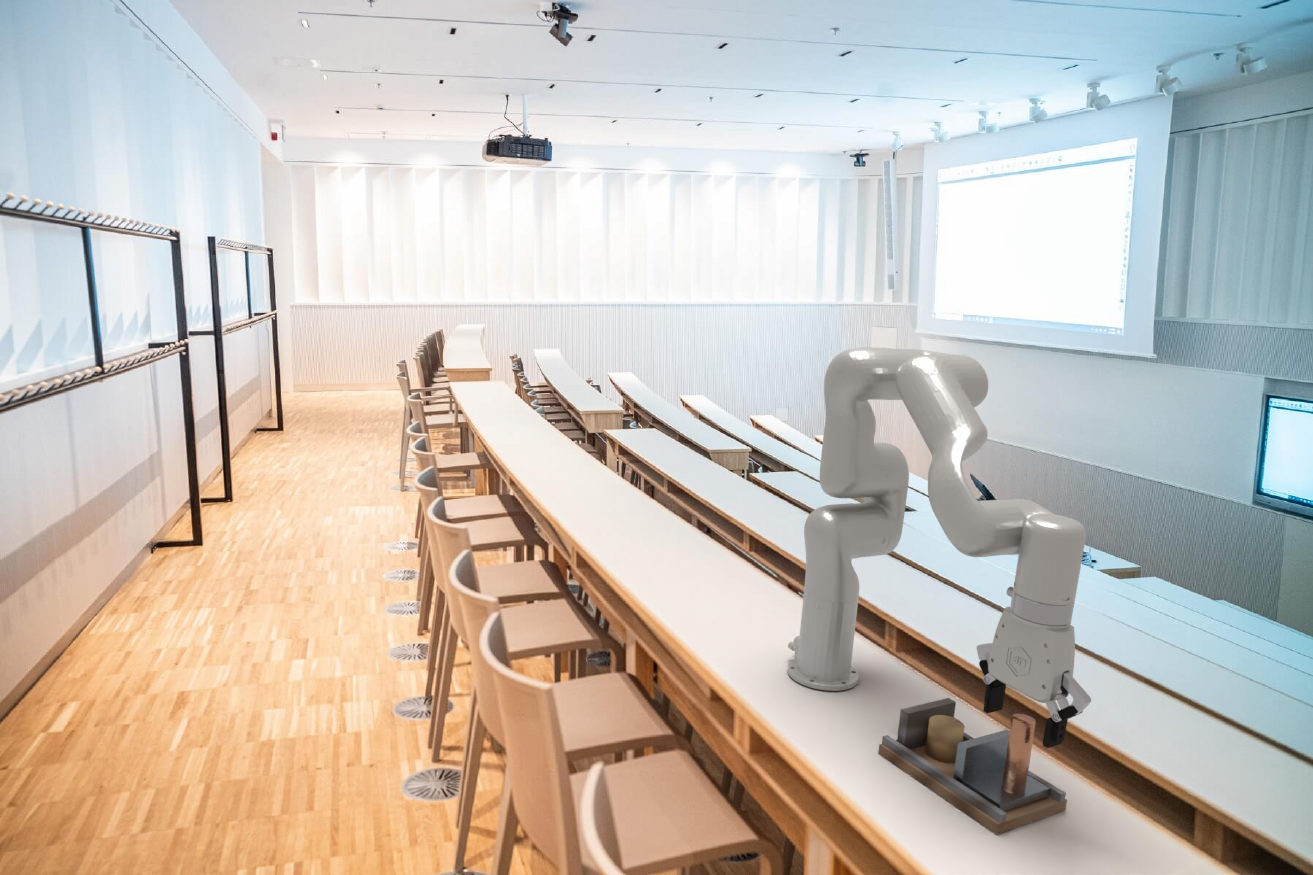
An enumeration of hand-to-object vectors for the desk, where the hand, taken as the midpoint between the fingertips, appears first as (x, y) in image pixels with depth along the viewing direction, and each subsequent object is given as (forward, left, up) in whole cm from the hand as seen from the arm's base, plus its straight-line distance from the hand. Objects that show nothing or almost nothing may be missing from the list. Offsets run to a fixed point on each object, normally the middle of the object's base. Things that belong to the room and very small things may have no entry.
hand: (1021, 727), depth 124 cm
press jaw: (-2, 0, -10) cm, 10 cm away
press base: (-8, 0, -12) cm, 14 cm away
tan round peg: (-12, 0, -10) cm, 16 cm away
